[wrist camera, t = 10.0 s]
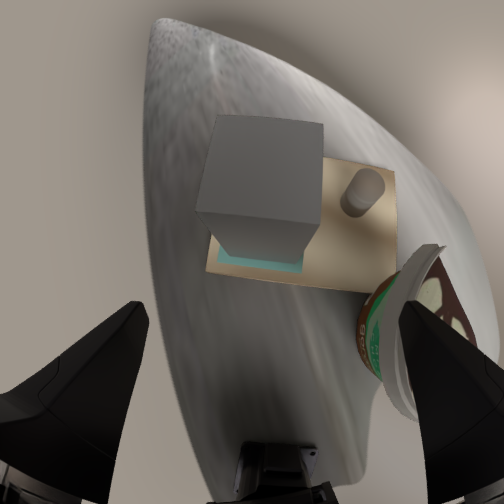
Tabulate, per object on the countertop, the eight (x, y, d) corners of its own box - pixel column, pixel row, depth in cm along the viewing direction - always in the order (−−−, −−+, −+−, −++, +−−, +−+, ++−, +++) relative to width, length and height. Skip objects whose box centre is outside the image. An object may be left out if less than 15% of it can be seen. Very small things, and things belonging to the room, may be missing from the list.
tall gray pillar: (295, 264, 20) (320, 224, 10) (229, 256, 20) (194, 211, 11) (301, 201, 21) (323, 123, 11) (238, 195, 21) (217, 114, 12)
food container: (314, 302, 21) (352, 301, 11) (374, 264, 21) (441, 236, 11) (374, 417, 19) (428, 470, 9) (427, 378, 19) (497, 405, 9)
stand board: (389, 295, 20) (418, 291, 15) (208, 272, 21) (190, 262, 17) (390, 176, 22) (412, 149, 17) (230, 152, 24) (222, 119, 19)
